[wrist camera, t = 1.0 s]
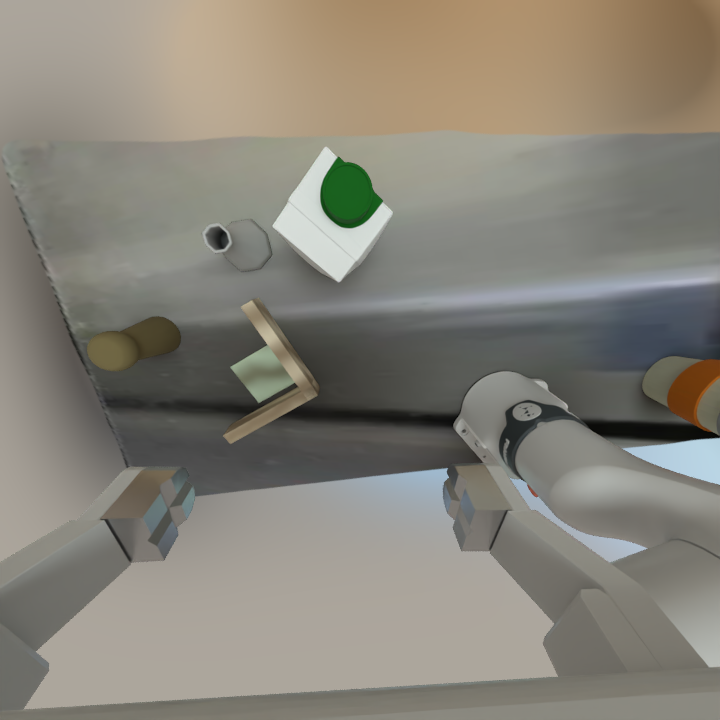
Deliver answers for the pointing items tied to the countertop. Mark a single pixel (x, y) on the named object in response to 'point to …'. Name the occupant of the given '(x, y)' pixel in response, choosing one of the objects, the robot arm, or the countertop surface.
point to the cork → (133, 344)
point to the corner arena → (270, 374)
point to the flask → (239, 243)
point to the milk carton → (333, 216)
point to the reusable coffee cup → (687, 389)
